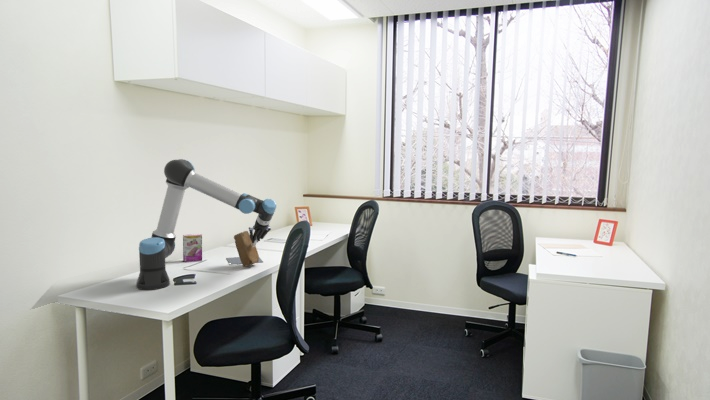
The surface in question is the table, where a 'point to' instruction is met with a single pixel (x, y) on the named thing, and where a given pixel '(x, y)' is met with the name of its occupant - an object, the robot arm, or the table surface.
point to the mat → (238, 260)
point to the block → (246, 249)
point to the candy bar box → (192, 247)
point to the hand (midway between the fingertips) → (253, 245)
